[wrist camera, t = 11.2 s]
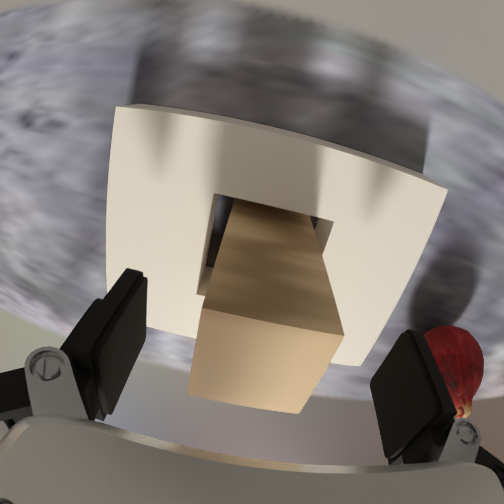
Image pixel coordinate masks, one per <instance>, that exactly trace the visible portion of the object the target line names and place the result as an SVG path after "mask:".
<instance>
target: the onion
mask: <svg viewBox="0 0 504 504" xmlns="http://www.w3.org/2000/svg"><path fill="white" fill-rule="evenodd" d="M424 337H425V339H426V341H427V343H428V345H429V347H430V349H431V352H432V354H433V356H434V358H435V360H436V363H437V365H438V367H439V369H440V372H441V374H442V376H443V379H444V381H445V383H446V386H447V388H448V390H449V393H450V395H451V398H452V400H453V403H454V405H455V408H456V410H457V414H456V418H457V419H458V418H467V416H468V415H469V414H470V413H471V412H472V410H471V406H472V399H473V397H474V395H475V394H476V392H477V390H478V388H479V386H480V384H481V381H482V378H483V370H484V359H483V354H482V350H481V348H480V346H479V344H478V342H477V341H476V340H475V338H474V337H473V336H472V335H471V334H470V333H469V332H468V331H467V330H464V329H462V328H459V327H455V326H452V325H447V326H440V327H435V328H433V329H431V330H429V331H427V332H426V333H425V334H424Z"/></svg>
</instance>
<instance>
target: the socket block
mask: <svg viewBox="0 0 504 504" xmlns="http://www.w3.org/2000/svg"><path fill="white" fill-rule="evenodd" d="M447 191H448V190H447V189H446V188H444V187H443V186H441V185H440V184H438V183H436V182H435V181H433V180H432V179H430V178H428V177H427V176H425V175H423V174H421V173H418V172H416V171H413V170H411V169H408V168H406V167H403V166H400V165H398V164H395V163H392V162H389V161H387V160H384V159H381V158H378V157H375V156H372V155H369V154H366V153H363V152H360V151H357V150H354V149H351V148H348V147H345V146H341V145H338V144H335V143H331V142H328V141H325V140H321V139H318V138H314V137H311V136H307V135H303V134H299V133H296V132H292V131H288V130H284V129H280V128H276V127H272V126H267V125H263V124H259V123H254V122H250V121H245V120H240V119H235V118H230V117H225V116H220V115H215V114H209V113H203V112H197V111H191V110H185V109H178V108H171V107H164V106H157V105H148V104H132V105H124V106H116V111H115V118H114V126H113V134H112V143H111V153H110V164H109V176H108V192H107V215H106V275H107V293H108V292H109V290H110V289H111V288H112V286H113V285H114V284H115V282H116V281H117V280H118V278H119V277H120V276H121V274H122V273H123V272H124V271H125V269H126V268H130V269H134V270H138V271H142V272H143V276H144V277H147V278H148V288H147V318H146V326H148V327H151V328H155V329H159V330H163V331H167V332H171V333H175V334H179V335H183V336H187V337H192V338H196V337H197V332H198V326H199V320H200V314H201V309H202V305H203V302H204V298H205V295H206V291H207V288H208V285H209V281H210V278H211V275H212V271H213V267H209V266H206V262H207V257H208V251H209V246H210V240H211V235H212V229H213V224H214V219H215V214H216V208H217V203H218V198H219V194H220V195H225V196H230V197H234V198H239V199H243V200H248V201H252V202H256V203H261V204H265V205H269V206H274V207H278V208H282V209H286V210H290V211H294V212H299V213H303V214H307V215H311V216H315V217H319V218H318V221H317V224H316V227H315V230H314V231H315V234H316V237H317V240H318V244H319V247H320V250H321V254H322V257H323V260H324V263H325V267H326V270H327V274H328V277H329V281H330V284H331V287H332V291H333V295H334V298H335V302H336V305H337V309H338V313H339V316H340V320H341V324H342V328H343V331H344V335H345V336H344V338H343V340H342V342H341V344H340V346H339V347H338V349H337V351H336V353H335V355H334V356H333V358H332V360H331V362H330V363H335V364H343V365H352V366H361V364H362V363H363V361H364V359H365V358H366V356H367V355H368V353H369V351H370V350H371V348H372V346H373V345H374V343H375V341H376V340H377V338H378V336H379V335H380V333H381V331H382V329H383V328H384V326H385V324H386V322H387V321H388V319H389V317H390V315H391V313H392V312H393V310H394V308H395V306H396V304H397V302H398V300H399V299H400V297H401V295H402V293H403V291H404V289H405V287H406V285H407V283H408V281H409V279H410V277H411V275H412V273H413V271H414V269H415V267H416V265H417V262H418V260H419V258H420V256H421V254H422V252H423V250H424V247H425V245H426V243H427V241H428V238H429V236H430V234H431V231H432V229H433V227H434V224H435V222H436V219H437V217H438V215H439V212H440V210H441V207H442V204H443V202H444V199H445V197H446V194H447Z"/></svg>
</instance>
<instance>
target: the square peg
mask: <svg viewBox="0 0 504 504" xmlns="http://www.w3.org/2000/svg"><path fill="white" fill-rule="evenodd" d="M344 336H345V335H344V331H343V328H342V324H341V320H340V316H339V313H338V309H337V305H336V302H335V298H334V295H333V291H332V287H331V284H330V281H329V277H328V274H327V270H326V267H325V263H324V260H323V257H322V254H321V250H320V247H319V244H318V240H317V237H316V234H315V231H314V228H313V225H312V221H311V218H310V215H307V214H303V213H299V212H294V211H290V210H286V209H282V208H278V207H274V206H269V205H265V204H261V203H256V202H252V201H248V200H243V199H239V198H235V201H234V204H233V207H232V210H231V213H230V216H229V219H228V223H227V226H226V229H225V232H224V235H223V239H222V242H221V245H220V248H219V252H218V255H217V258H216V261H215V265H214V268H213V271H212V275H211V278H210V281H209V285H208V288H207V291H206V295H205V298H204V302H203V305H202V309H201V314H200V320H199V326H198V332H197V337H196V343H195V349H194V355H193V361H192V367H191V374H190V380H189V387H188V393H187V394H188V395H192V396H196V397H201V398H206V399H210V400H215V401H220V402H226V403H230V404H236V405H242V406H247V407H253V408H259V409H266V410H274V411H281V412H289V413H297V414H299V413H300V411H301V410H302V408H303V406H304V405H305V403H306V401H307V400H308V398H309V397H310V395H311V394H312V392H313V390H314V389H315V387H316V385H317V384H318V382H319V380H320V379H321V377H322V375H323V374H324V372H325V370H326V369H327V367H328V365H329V363H330V362H331V360H332V358H333V356H334V355H335V353H336V351H337V349H338V347H339V346H340V344H341V342H342V340H343V338H344Z"/></svg>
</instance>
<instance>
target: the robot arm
mask: <svg viewBox="0 0 504 504" xmlns="http://www.w3.org/2000/svg"><path fill="white" fill-rule="evenodd" d="M147 288H148V278H147V277H144V276H143V272H142V271H138V270H134V269H130V268H126V269H125V271H124V272H123V273H122V274H121V276H120V277H119V278H118V280H117V281H116V282H115V284H114V285H113V286H112V288H111V289H110V290H109V292H108V293H107V294H106V296H105V297H104V299H103V300H102V299H99V298H98V299H96V300H95V301H94V302H93V303H92V304H91V306H90V307H89V308H88V310H87V311H86V313H85V314H84V315H83V317H82V318H81V319H80V321H79V322H78V323H77V325H76V326H75V328H74V329H73V330H72V332H71V333H70V335H69V336H68V338H67V339H66V341H65V342H64V343H63V345H62V346H61V348H60V349H58V348H54V347H41V348H39V349H36V350H34V351H33V352H31V353H30V355H29V356H28V357H27V359H26V361H25V367H24V368H19V369H15V370H11V371H7V372H3V373H0V504H504V464H503V463H502V462H501V461H500V460H498V459H497V458H496V457H494V456H493V455H492V454H490V453H489V452H488V451H487V450H485V449H483V447H481V446H480V441H481V436H480V431H479V429H478V427H477V426H476V425H475V424H474V423H473V422H472V421H471V420H469V419H467V418H458V419H457V420H454V416H455V415H456V414H457V410H456V408H455V405H454V403H453V400H452V398H451V395H450V393H449V390H448V388H447V386H446V383H445V381H444V379H443V376H442V374H441V372H440V369H439V367H438V365H437V363H436V360H435V358H434V356H433V354H432V352H431V349H430V347H429V345H428V343H427V341H426V339H425V337H424V335H423V333H422V332H421V331H416V330H410V329H408V330H406V331H405V332H403V333H402V334H401V335H400V336H399V338H398V340H397V341H396V343H395V344H394V346H393V347H392V349H391V351H390V352H389V354H388V355H387V357H386V358H385V360H384V361H383V363H382V364H381V366H380V367H379V369H378V370H377V372H376V373H375V374H374V376H373V377H372V379H371V382H370V389H371V393H372V397H373V402H374V406H375V410H376V415H377V420H378V425H379V430H380V435H381V440H382V445H383V450H384V455H385V457H386V458H388V463H389V465H382V466H328V465H327V466H325V465H308V464H294V463H284V462H274V461H266V460H258V459H251V458H244V457H238V456H231V455H226V454H220V453H215V452H210V451H205V450H200V449H196V448H191V447H187V446H183V445H178V444H175V443H171V442H166V441H163V440H159V439H155V438H151V437H148V436H144V435H141V434H137V433H134V432H131V431H128V430H124V429H121V428H117V427H114V426H110V425H107V424H104V423H100V422H96V421H94V420H95V418H96V419H99V420H102V421H104V419H105V417H106V415H107V414H109V415H111V414H112V413H113V411H114V409H115V406H116V404H117V402H118V399H119V397H120V395H121V393H122V390H123V388H124V386H125V383H126V381H127V379H128V377H129V374H130V372H131V370H132V368H133V366H134V364H135V362H136V359H137V357H138V355H139V353H140V351H141V349H142V347H143V344H144V342H145V338H146V318H147ZM402 463H403V464H402Z"/></svg>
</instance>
